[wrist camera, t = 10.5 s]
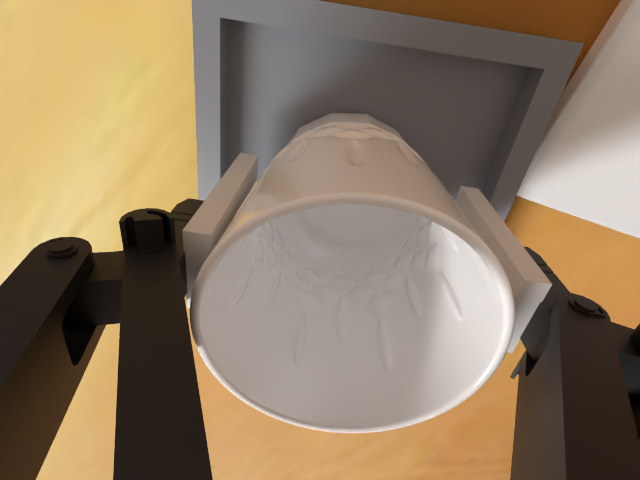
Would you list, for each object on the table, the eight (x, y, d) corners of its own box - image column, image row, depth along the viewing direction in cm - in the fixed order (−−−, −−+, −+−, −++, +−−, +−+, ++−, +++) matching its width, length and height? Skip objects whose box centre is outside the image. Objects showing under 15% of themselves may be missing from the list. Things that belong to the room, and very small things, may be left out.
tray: (557, 39, 15) (584, 43, 13) (448, 304, 22) (456, 328, 21) (208, -17, 15) (191, -21, 13) (213, 270, 22) (201, 292, 20)
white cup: (336, 54, 15) (330, 107, 6) (465, 175, 17) (586, 333, 9) (230, 191, 18) (134, 347, 10) (351, 278, 21) (357, 464, 12)
